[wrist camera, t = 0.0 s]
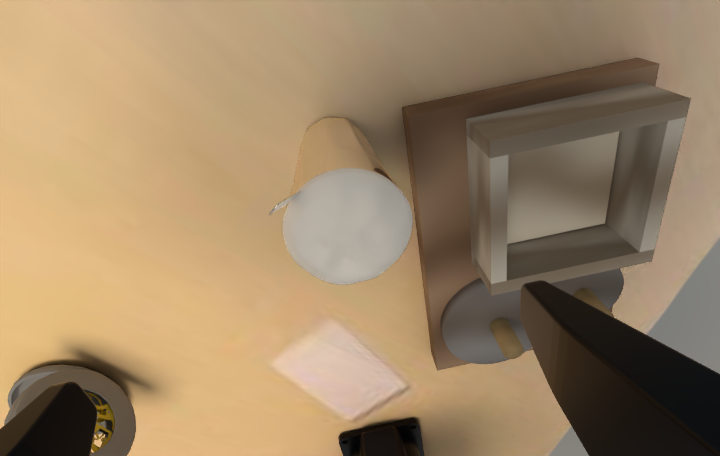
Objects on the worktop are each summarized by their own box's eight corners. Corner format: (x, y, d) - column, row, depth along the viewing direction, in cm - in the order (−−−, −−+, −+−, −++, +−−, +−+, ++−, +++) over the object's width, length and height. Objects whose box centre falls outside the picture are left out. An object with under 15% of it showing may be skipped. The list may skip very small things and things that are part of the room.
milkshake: (313, 70, 20) (324, 149, 11) (395, 141, 22) (454, 250, 14) (256, 144, 21) (227, 261, 13) (338, 203, 24) (360, 336, 15)
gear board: (594, 318, 31) (636, 368, 27) (431, 353, 31) (450, 408, 27) (637, 57, 21) (711, 78, 18) (402, 107, 21) (424, 138, 17)
